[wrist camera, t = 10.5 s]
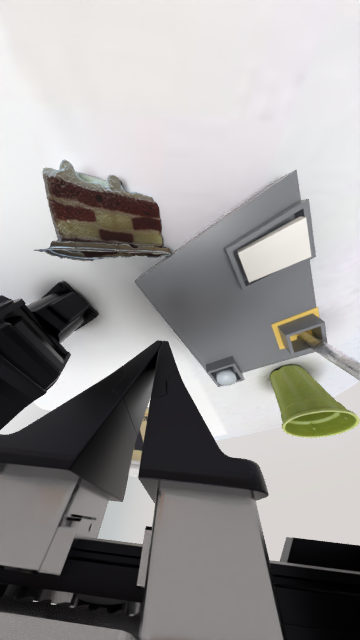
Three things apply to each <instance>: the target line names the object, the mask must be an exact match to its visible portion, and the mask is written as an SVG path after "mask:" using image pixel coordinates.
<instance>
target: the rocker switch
mask: <svg viewBox="0 0 360 640" xmlns="http://www.w3.org/2000/svg"><path fill="white" fill-rule="evenodd" d="M237 252H238V255H239V258H240V260H241V263H242V266H243V268H244V271H245V273H246V276H247V279H248V281H249V282H252V281H254V280H257V279H259V278H261V277H264V276H266V275H269V274H271V273H274V272H276V271H278V270H281V269H283V268H286V267H288V266H290V265H293V264H295V263H298V262H300V261H302V260H305V259H307V258H310V257H311V249H310V242H309V235H308V227H307V220H306V217H301V216H300V217H298V218H296V219H294V220H293V221H291V222H289V223H287V224H285V225H283V226H282V227H280V228H278V229H276V230H274V231H272V232H270V233H269V234H267V235H265V236H263V237H261V238H259V239H257V240H256V241H254V242H252V243H250V244H248V245H246V246H245V247H243V248H241V249H239V250H237Z"/></svg>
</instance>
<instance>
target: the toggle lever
mask: <svg viewBox="0 0 360 640" xmlns="http://www.w3.org/2000/svg"><path fill="white" fill-rule="evenodd" d="M297 339H298V340H299V341H301V342H302V343H304V344H305V345H307V346H308V347H310V348H311V349H313V350H314V351H316V352H317V353H319V354H320V355H322V356H323V357H325V358H326V359H328V360H329V361H331V362H332V363H334V364H335V365H337V366H338V367H340V368H342V369H343V370H345V371H346V372H348V373H349V374H351V375H352V376H354V377H355V378H357V379H358V380H360V362H358V361H356V360H355V359H353V358H351V357H350V356H348V355H346V354H344V353H343V352H341V351H339V350H338V349H336V348H334V347H332V346H331V345H329V344H327V343H326V342H324V341H322V340H320V339H319V338H317V337H315V336H314V335H312V334H310V333H308V332H307V331H304V332H301V333H300V334H299V335H298V336H297Z"/></svg>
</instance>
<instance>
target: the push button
mask: <svg viewBox="0 0 360 640" xmlns="http://www.w3.org/2000/svg"><path fill="white" fill-rule="evenodd" d="M216 377H217V382H218V383H219V384H221V385H225V386H227V385H232V384H234V383H235V382H236V380H237V379H236V375H235V372H234V370H233V369H231V368H224V369H221V370H218V371H217V372H216Z"/></svg>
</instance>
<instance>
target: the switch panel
mask: <svg viewBox="0 0 360 640" xmlns="http://www.w3.org/2000/svg"><path fill="white" fill-rule="evenodd" d="M300 216H301V217H306V220H307V227H308V235H309V242H310V249H311V257H310V258H307V259H305V260H302V261H300V262H298V263H295V264H293V265H290V266H288V267H286V268H283V269H281V270H278V271H276V272H274V273H271V274H269V275H266V276H264V277H261V278H259V279H257V280H254V281H252V282H249V281H248V279H247V276H246V273H245V271H244V268H243V266H242V263H241V260H240V258H239V255H238V252H237V250H239V249H241V248H243V247H245V246H246V245H248V244H250V243H252V242H254V241H256V240H257V239H259V238H261V237H263V236H265V235H267V234H269V233H270V232H272V231H274V230H276V229H278V228H280V227H282V226H283V225H285V224H287V223H289V222H291V221H293V220H294V219H296V218H298V217H300ZM314 257H316V255H315V247H314V239H313V231H312V222H311V214H310V206H309V199H306V200H302V201H301V198H300V191H299V184H298V177H297V170H295V171H293V172H291V173H289V174H287V175H285V176H283V177H281V178H280V179H278V180H277V181H275V182H274V183H272V184H271V185H270V186H268V187H267V188H265V189H264V190H262V191H261V192H260V193H258V194H257V195H255V196H254V197H252V198H251V199H249V200H248V201H247V202H245V203H244V204H242V205H241V206H239V207H238V208H237V209H235V210H234V211H232V212H231V213H229V214H228V215H227V216H225V217H224V218H222V219H221V220H219V221H218V222H217V223H215V224H214V225H212V226H211V227H209V228H208V229H206V230H205V231H204V232H202V233H201V234H199V235H198V236H196V237H195V238H194V239H192V240H191V241H189V242H188V243H186V244H185V245H184V246H182V247H181V248H179V249H178V250H176V251H175V252H174V253H172V255H170V256H168V257H166V258H165V259H164V260H162V261H161V262H159V263H158V264H156V265H155V266H153V267H152V268H151V269H149V270H148V271H146V272H145V273H143V274H142V275H141V276H140V277H139V278H138V279H137V280H136V281H135V283H136V284H137V286H138V287H139V288H140V289H141V291H142V292H143V293H144V294H145V296H146V297H147V298H148V299H149V301H150V302H151V303H152V304H153V306H154V307H155V308H156V309H157V311H158V312H159V313H160V314H161V315H162V317H163V318H164V319H165V320H166V322H167V323H168V324H169V325H170V327H171V328H172V329H173V330H174V332H175V333H176V334H177V335H178V337H179V338H180V339H181V340H182V342H183V343H184V344H185V345H186V347H187V348H188V349H189V350H190V352H191V353H192V354H193V355H194V357H195V358H196V359H197V360H198V361H199V363H200V364H201V365H202V366H203V368H204V369H205V370H206V371H207V373H208V375H209V376H210V377H211V378H212V380H213V381H214V382H215V383H216V385H217V386H218V387H220V386H224V385H221V384H219V383H218V382H217V377H216V372H217V371H218V370H221V369H224V368H231V369H233V370H234V372H235V375H236V379H237V380H236V382H239V381H243V380H244V377H243V374H242V373H243V372H247V371H250V370H254V369H257V368H261V367H264V366H268V365H271V364H274V363H278V362H281V361H285V360H288V359H292V358H295V357H299V356H302V355H306V354H309V353H313V352H316V351H314V350H313V349H311V348H310V347H308V346H307V345H305V344H304V343H302V342H301V341H299V340H298V339H297V336H298V335H299V334H300V333H301V332H304V331H307V332H308V333H310V334H312V335H314V336H315V337H317V338H319V339H320V340H322V341H324V342H326V343H327V337H326V329H325V322H324V321H323V320H321V319H320V318H319V312H318V307H316V302H315V295H314V288H313V281H312V274H311V267H310V259H312V258H314Z"/></svg>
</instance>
